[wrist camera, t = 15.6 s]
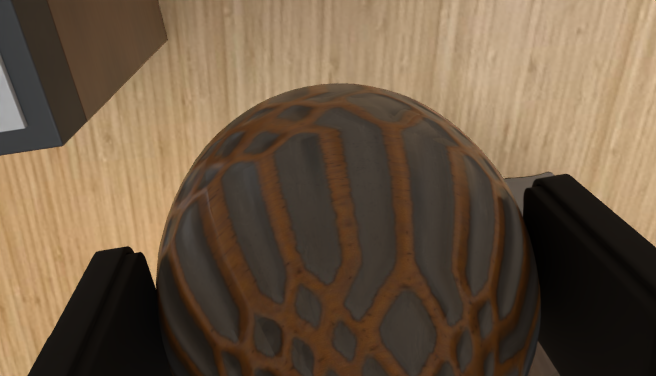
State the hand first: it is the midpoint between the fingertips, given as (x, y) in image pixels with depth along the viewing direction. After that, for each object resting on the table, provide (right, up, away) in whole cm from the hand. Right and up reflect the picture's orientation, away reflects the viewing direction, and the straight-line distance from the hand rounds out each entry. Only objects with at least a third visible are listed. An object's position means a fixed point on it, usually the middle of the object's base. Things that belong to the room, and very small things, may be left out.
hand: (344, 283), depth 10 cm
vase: (0, +2, +4) cm, 4 cm away
